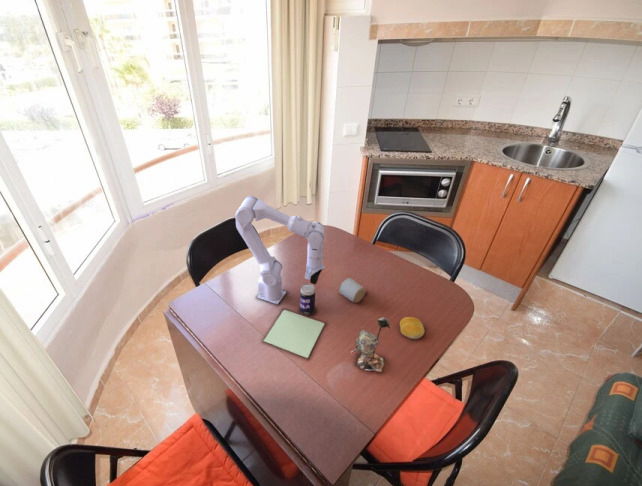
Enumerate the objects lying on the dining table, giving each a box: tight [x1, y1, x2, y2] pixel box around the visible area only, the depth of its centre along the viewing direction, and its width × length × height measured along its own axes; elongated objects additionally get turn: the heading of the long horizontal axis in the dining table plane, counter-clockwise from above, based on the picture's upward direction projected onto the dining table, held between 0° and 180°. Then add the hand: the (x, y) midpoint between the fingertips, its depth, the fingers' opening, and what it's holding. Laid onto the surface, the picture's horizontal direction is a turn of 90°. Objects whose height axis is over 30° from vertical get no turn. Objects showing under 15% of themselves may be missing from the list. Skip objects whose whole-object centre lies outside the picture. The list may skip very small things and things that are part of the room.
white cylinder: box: [338, 277, 367, 304], centre depth 131 cm, size 11×8×8 cm
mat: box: [263, 309, 325, 359], centre depth 118 cm, size 17×17×1 cm
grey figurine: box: [350, 317, 391, 373], centre depth 102 cm, size 8×11×20 cm
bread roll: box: [399, 316, 425, 340], centre depth 116 cm, size 8×9×4 cm
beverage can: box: [299, 283, 316, 316], centre depth 124 cm, size 6×6×12 cm
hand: (313, 282), depth 126 cm, fingers closed
